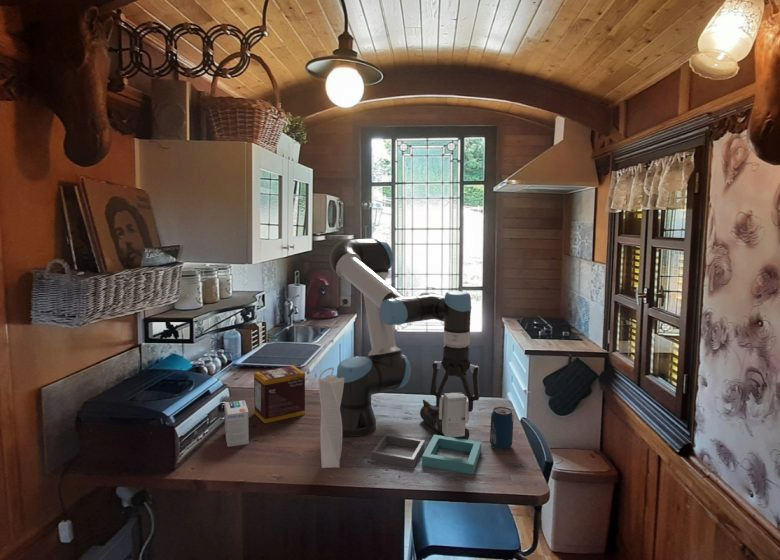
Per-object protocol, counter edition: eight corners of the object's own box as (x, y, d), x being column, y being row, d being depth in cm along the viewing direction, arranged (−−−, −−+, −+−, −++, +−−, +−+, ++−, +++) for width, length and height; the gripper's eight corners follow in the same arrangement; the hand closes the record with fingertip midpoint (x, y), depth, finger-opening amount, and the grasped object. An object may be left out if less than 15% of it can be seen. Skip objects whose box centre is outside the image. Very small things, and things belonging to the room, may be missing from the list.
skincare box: (446, 438, 152) (447, 398, 151) (441, 431, 157) (442, 393, 155) (465, 436, 154) (467, 397, 152) (460, 429, 158) (461, 391, 156)
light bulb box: (224, 433, 171) (223, 401, 169) (245, 430, 173) (244, 399, 172) (227, 447, 161) (226, 414, 159) (249, 444, 164) (248, 411, 162)
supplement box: (305, 414, 187) (305, 372, 185) (264, 424, 178) (263, 380, 176) (294, 405, 196) (293, 365, 193) (254, 413, 187) (253, 371, 185)
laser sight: (449, 448, 163) (450, 418, 162) (413, 421, 183) (414, 394, 182) (474, 442, 168) (475, 413, 166) (436, 416, 188) (437, 390, 186)
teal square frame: (421, 465, 152) (422, 455, 152) (433, 443, 166) (434, 434, 166) (473, 474, 147) (473, 464, 147) (480, 451, 162) (481, 442, 161)
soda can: (514, 444, 166) (516, 409, 164) (507, 453, 160) (509, 416, 159) (494, 439, 170) (495, 404, 168) (486, 447, 164) (488, 411, 162)
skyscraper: (319, 456, 156) (319, 366, 152) (344, 455, 157) (344, 366, 153) (317, 469, 149) (317, 375, 144) (343, 469, 149) (344, 375, 145)
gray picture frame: (371, 460, 155) (371, 452, 154) (385, 441, 167) (385, 434, 167) (413, 467, 151) (413, 459, 150) (424, 447, 163) (424, 440, 163)
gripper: (420, 344, 151) (418, 419, 154) (489, 351, 145) (486, 429, 148) (426, 338, 158) (424, 410, 161) (492, 344, 152) (489, 419, 155)
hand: (454, 419), depth 155 cm, fingers closed on skincare box, 7 cm apart
